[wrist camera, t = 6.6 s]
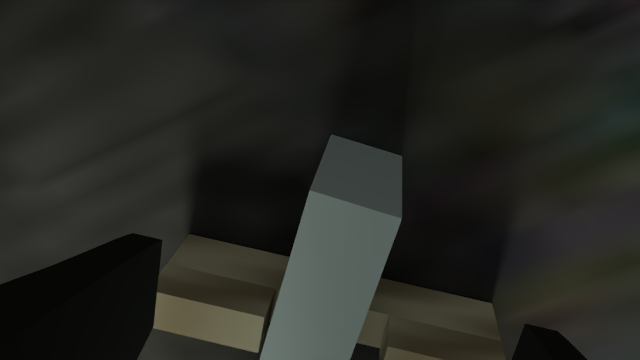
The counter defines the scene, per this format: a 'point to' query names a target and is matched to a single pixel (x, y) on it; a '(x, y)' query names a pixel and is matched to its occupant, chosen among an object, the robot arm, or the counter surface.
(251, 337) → the birch board
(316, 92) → the counter surface
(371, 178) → the notched plate
